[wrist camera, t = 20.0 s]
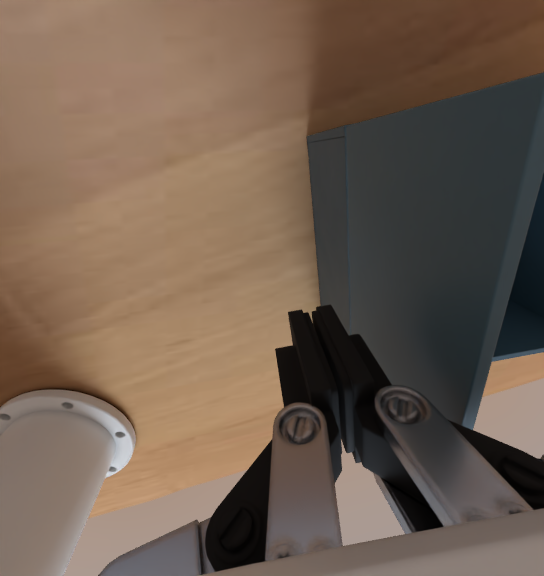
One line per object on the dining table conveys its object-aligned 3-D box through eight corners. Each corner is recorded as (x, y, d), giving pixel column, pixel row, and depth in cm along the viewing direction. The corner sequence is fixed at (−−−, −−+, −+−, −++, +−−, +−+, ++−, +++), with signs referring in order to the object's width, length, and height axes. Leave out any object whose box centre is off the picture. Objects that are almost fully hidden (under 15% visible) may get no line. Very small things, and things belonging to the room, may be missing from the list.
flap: (358, 395, 17) (352, 396, 17) (354, 124, 11) (345, 125, 11) (438, 558, 10) (429, 560, 10) (574, 65, 4) (549, 70, 4)
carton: (322, 324, 24) (351, 388, 18) (306, 136, 18) (344, 125, 11) (494, 293, 25) (587, 344, 18) (542, 96, 18) (717, 62, 11)
